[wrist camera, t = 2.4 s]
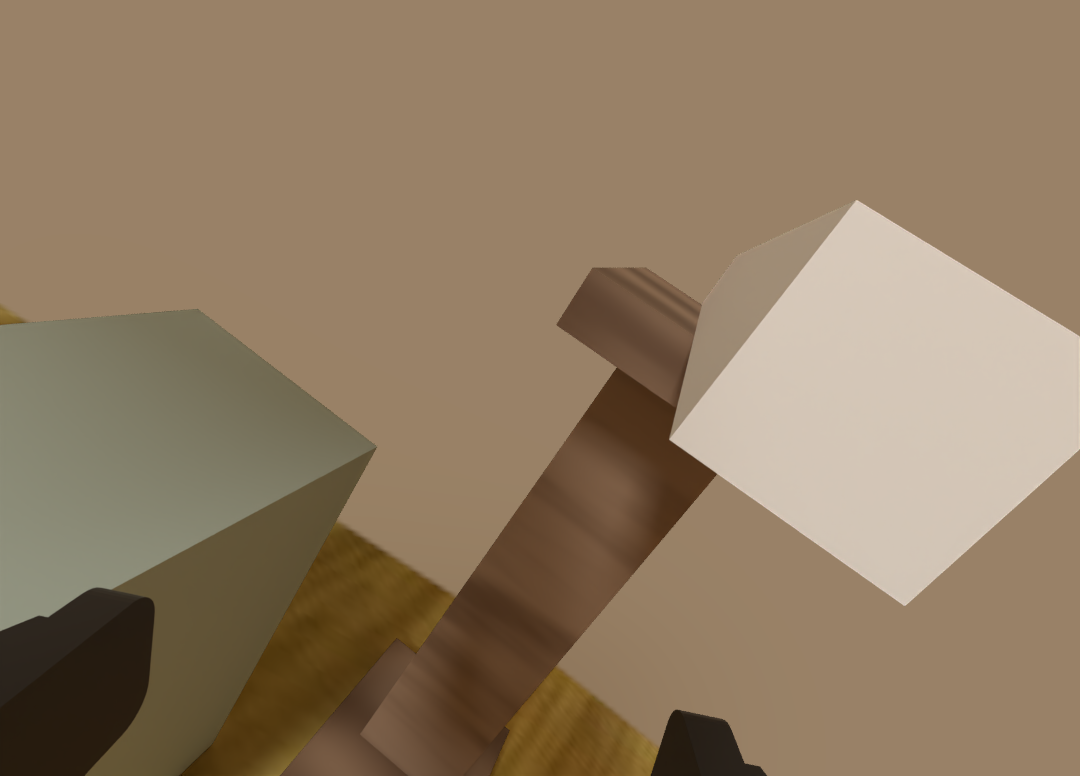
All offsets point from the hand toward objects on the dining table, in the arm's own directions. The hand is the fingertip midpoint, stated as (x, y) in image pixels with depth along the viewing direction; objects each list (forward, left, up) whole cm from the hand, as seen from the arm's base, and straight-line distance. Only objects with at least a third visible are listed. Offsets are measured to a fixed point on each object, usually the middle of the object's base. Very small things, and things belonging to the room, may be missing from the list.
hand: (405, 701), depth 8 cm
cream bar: (+6, +11, +6) cm, 14 cm away
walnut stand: (+8, +15, -26) cm, 31 cm away
